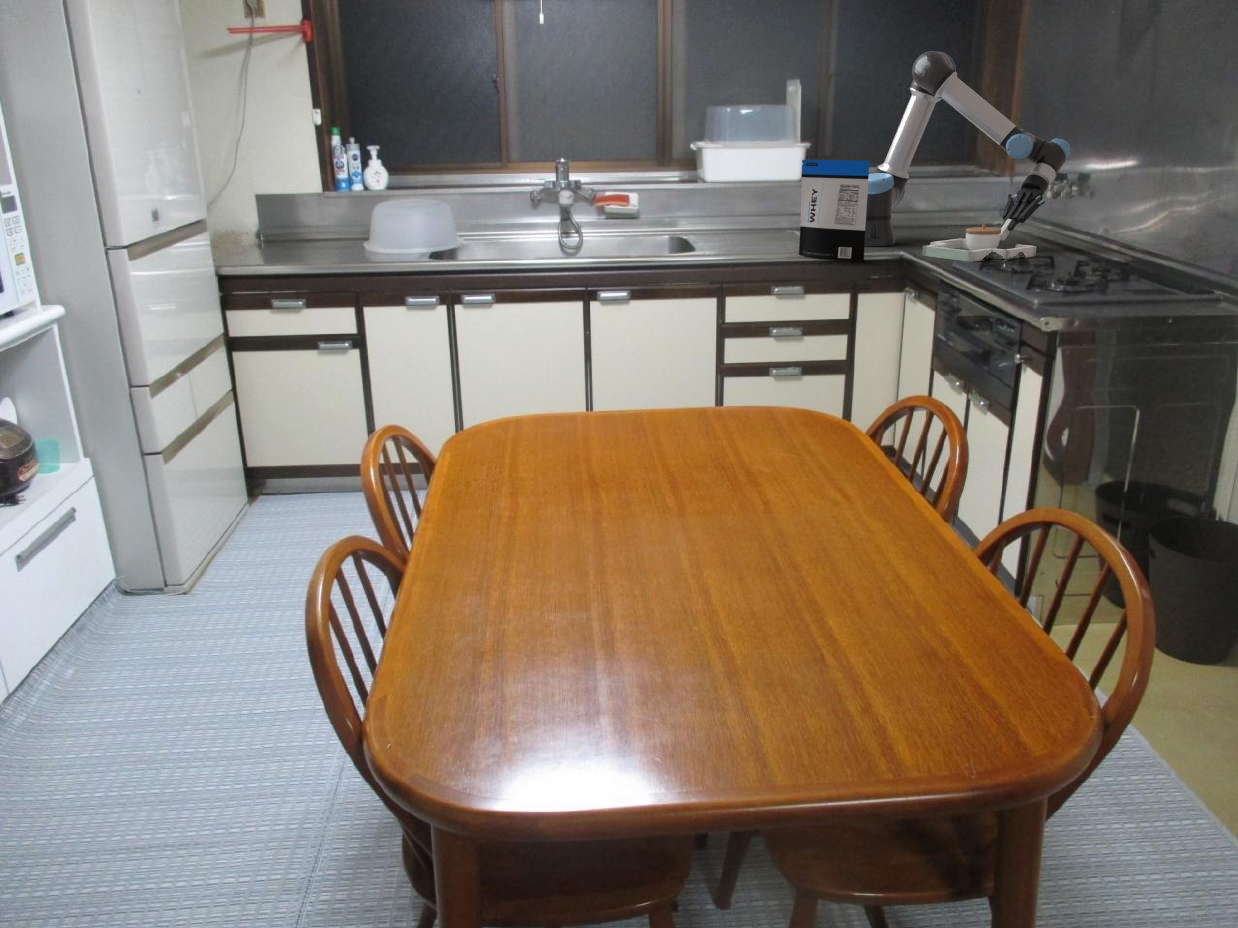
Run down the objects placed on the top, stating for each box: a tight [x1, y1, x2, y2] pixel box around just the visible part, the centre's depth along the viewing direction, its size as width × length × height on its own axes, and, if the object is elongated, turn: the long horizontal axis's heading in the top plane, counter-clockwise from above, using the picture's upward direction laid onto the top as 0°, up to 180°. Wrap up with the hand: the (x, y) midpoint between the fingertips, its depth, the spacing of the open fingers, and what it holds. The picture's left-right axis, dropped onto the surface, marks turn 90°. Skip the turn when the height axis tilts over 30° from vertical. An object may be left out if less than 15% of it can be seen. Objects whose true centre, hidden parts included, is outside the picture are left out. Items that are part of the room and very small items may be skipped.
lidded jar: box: [965, 223, 1001, 251], centre depth 326 cm, size 11×11×9 cm
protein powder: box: [798, 159, 870, 262], centre depth 322 cm, size 10×24×30 cm, turn 46°
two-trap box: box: [921, 237, 1037, 263], centre depth 325 cm, size 29×24×3 cm
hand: (1000, 237), depth 330 cm, fingers closed
